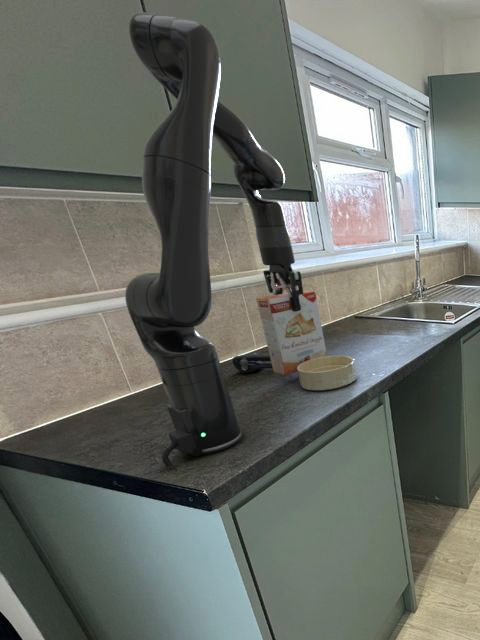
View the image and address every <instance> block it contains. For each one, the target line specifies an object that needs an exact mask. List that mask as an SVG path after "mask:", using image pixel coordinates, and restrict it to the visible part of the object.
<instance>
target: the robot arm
mask: <svg viewBox="0 0 480 640" xmlns="http://www.w3.org/2000/svg"><path fill="white" fill-rule="evenodd" d="M128 35H129V40H130V43H131V45H132V48H133V50H134V52H135V55H136V56H137V58H138V60H139V61H140V62H141V64H142V65H143V67H144V68H145V69H146V70H147V71H148V73H150V75H151V76H152V77H153V78H154V79H155V80H156V81H157V82H158V83H159V84H160V85H161V86H162V87H163V88H164V89H165V90H167V91H168V93H169V94H171V95H172V96H173V97H174V98H175V99H176V102H175V104H174V106H173V107H172V109H171V110H170V111H169V112H168V114H167V115H165V117H164V119H163V120H161V122H160V123H159V124H158V125H157V127H156V128H155V129H154V130H153V131H152V132H151V134H150V136H149V137H148V139H147V140H146V142H145V144H144V147H143V150H142V165H141V166H142V167H141V188H142V193H143V197H144V199H145V202H146V205H147V207H148V210H149V211H150V213H151V216H152V217H153V220H154V222H155V225H156V227H157V229H158V232H159V236H160V242H161V243H160V245H161V255H160V256H161V257H160V269H159V272H148V273H142V274H139V275H136V276H135V277H133V278H132V279H130V281H129V282H128V284H127V285H126V288H125V293H124V294H125V295H124V297H125V299H124V300H125V304H126V308H127V311H128V314H129V317H130V319H131V321H132V324H133V326H134V329H135V331H136V333H137V335H138V338H139V340H140V342H141V345H142V347H143V349H144V350H145V352H146V353H147V354H148V356H150V357H151V358H152V360H153V361H154V363H155V366H156V369H157V371H158V374H159V376H160V379H161V382H162V385H163V388H164V390H165V393H166V397H167V399H168V402H169V404H167V405H166V407H167V410H168V413H169V416H170V418H171V421H172V425H173V427H174V429H175V430H174V431H172V432H168V436H169V440H170V442H171V444H170V445H169V446H168V447H167V448H166V449H165V450H164V451H163V453H162V456H161V460H162V462H163V464H164V465H165V467H166V468H170V467H172V466H173V467H174V465H173V464H172V462H171V461H170V458H169V456H170V454H171V452H172V451H174V450H177V451H178V452H180V453H181V454H185V453H187V454H190V455H191V456H193V457H195V458H198V457H201V456H203V455H208V454H213V453H214V454H215V453H217V452H221V451H224V450H226V449H229V448H231V447H233V446H234V445H237V444H238V443H239V442H241V440H242V438H243V433H242V430H241V428H240V425H239V422H238V418H237V414H236V412H235V408H234V405H233V401H232V398H231V395H230V392H229V389H228V384H227V381H226V378H225V376H224V373H223V368H222V365H221V361H220V359H219V356H218V355H219V354H218V351H217V349H216V346H215V345H214V343H213V342H211V341H210V340H208V339H207V338H205V337H204V336H202V335H201V334H200V333H199V332H198V331H197V330H196V328H195V327H198V326H199V325H201V324H202V323H204V321H206V320H207V318H208V316H209V315H210V312H211V307H212V298H213V297H212V283H211V282H212V281H211V272H210V271H211V269H210V256H209V235H210V233H209V232H210V206H211V205H210V204H211V194H212V193H211V192H212V157H213V156H212V155H213V154H212V153H213V139H214V140H215V141H216V143H217V144H218V146H219V147H220V149H222V151H223V152H224V154H225V155H226V156H227V158H228V159H229V160H230V161H231V162H232V163H233V166H232V171H233V176H234V178H235V180H236V182H237V184H238V186H239V188H240V189H241V191H242V194H243V195H244V197H245V199H246V201H247V204H248V205H249V209H250V211H251V213H252V214H251V215H252V219H253V222H254V227H255V236H256V240H257V244H258V249H259V254H260V258H261V262H262V265H264V266H267V267H268V269H266V270H262V273H263V277H264V280H265V283H266V286H267V290H268V292H269V293H270V294H272V295H278V294H284V293H285V292H286V293H288V295H289V297H290V298H289V299H290V304H291V308H292V311H295V312H296V311H300V310H301V306H300V301H299V296H300V295H301V294H303V291H304V287H303V281H302V273H301V271H300V270H298V271H294V270H293V268H292V265H293V264H295V263H296V259H295V256H294V249H293V245H292V240H291V236H290V232H289V231H288V227H287V222H286V217H285V212H284V209H283V206H282V204H281V203H280V202H278V201H276V200H270V199H266V198H263V197H262V196H261V195H260V194H259V193H260V192H259V191H277V190H281V189H282V188H283V186H284V185H285V181H286V177H285V172H284V170H283V167H282V166H281V164H280V163H279V162H278V160H277V159H276V158H275V157H274V156H273V155H272V154H271V153H269V152H268V151H267V150H266V149H265V148H264V147H262V145H260V143H258V142H257V140H256V139H255V137H254V135H253V134H252V132H251V130H250V129H249V127H248V126H247V125H246V123H245V122H244V121H243V120H242V118H241V117H240V116H239V115H238V114H237V113H235V112H234V111H233V110H232V109H231V108H230V107H228V106H227V105H225V103H223V102H222V101H220V100H219V99H218V98H219V93H220V84H221V75H222V65H221V64H222V63H221V56H220V55H221V54H220V53H221V52H220V49H219V45H218V42H217V40H216V38H215V36H214V34H213V33H212V31H211V30H210V29H209V28H208V27H207V26H206V25H205V24H203V23H201V22H199V21H196V20H193V19H190V18H186V17H180V16H172V15H167V14H160V13H155V12H148V11H147V12H145V11H138V12H136V13H133V15H131V17H130V18H129V22H128Z"/></svg>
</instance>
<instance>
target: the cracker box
mask: <svg viewBox="0 0 480 640" xmlns="http://www.w3.org/2000/svg"><path fill="white" fill-rule="evenodd" d="M289 298H290V297H289V295H288V293H287V292H284V294H278V295H273V294H272V295H266V296H260V297H259V296H258V297H255V300H256V304H257V309H258V313H259V317H260V321H261V324H262V329H263V334H264V338H265V342H266V347H267V350H268V355H270V359H271V361H270V363H272V367H273V369H272V372H273V373H274V374H279V375H282V376H289V375H291V374H294V373H298V372H297V367H298V365H300V364H301V363H303V362H306V361H308V360H311V359H315V358H320V357H326V356H328V353H327V348H326V342H325V338H324V332H323V326H322V321H321V316H320V310H319V304H318V300H317V299H318V298H317V293H316V291H313V290H303V294H301V295H300V296H299V301H300V306H301V310H300V311H296V312H295V311H292V308H291V304H290V299H289Z"/></svg>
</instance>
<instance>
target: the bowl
mask: <svg viewBox="0 0 480 640" xmlns="http://www.w3.org/2000/svg"><path fill="white" fill-rule="evenodd" d="M296 373H297V376H298V379H299V384H300V387H301V388H302V389H304V390H307V391H329V390H330V391H331V390H335V389H339V388H343V387H345V386H347V385H349V384H351V383H353V382H354V381H356V380H357V378H358V375H357V369H356V364H355V358H353V357H352V356H348V355H327V356H326V357H320V358H315V359H311V360H308V361H306V362H303V363H301V364H300V365H298V367H297V372H296Z"/></svg>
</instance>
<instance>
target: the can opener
mask: <svg viewBox="0 0 480 640" xmlns="http://www.w3.org/2000/svg"><path fill="white" fill-rule="evenodd" d="M232 365H233V366H234V368H235V369H236V370H238V371H239V372H240V373H242V374H251V373H253V372H256V371H258V370H262V369H271V370H273V367H272V363H271V359H270V355H269V354H258V353H257V352H254V353H253V354H243V355H242V354H241V355H235V356H233V358H232Z"/></svg>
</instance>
